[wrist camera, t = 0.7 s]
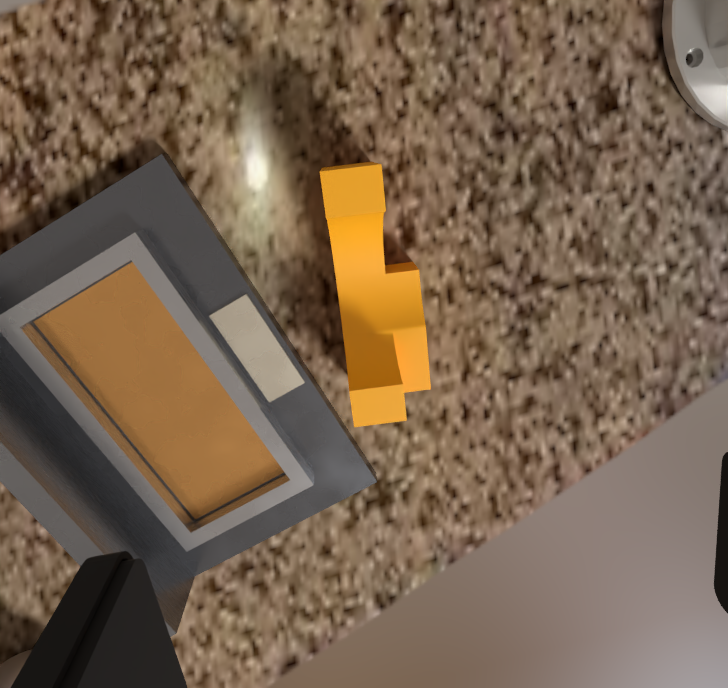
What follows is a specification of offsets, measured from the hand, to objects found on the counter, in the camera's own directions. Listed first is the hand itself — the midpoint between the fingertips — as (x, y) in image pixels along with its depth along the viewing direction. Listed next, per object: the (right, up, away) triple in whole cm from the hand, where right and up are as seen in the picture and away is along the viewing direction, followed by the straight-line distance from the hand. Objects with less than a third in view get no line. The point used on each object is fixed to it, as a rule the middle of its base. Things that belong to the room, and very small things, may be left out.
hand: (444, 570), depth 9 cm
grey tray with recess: (-12, +1, +24) cm, 27 cm away
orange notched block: (-1, +8, +22) cm, 24 cm away
